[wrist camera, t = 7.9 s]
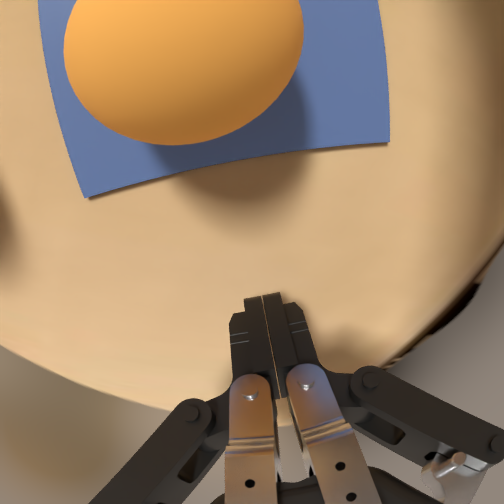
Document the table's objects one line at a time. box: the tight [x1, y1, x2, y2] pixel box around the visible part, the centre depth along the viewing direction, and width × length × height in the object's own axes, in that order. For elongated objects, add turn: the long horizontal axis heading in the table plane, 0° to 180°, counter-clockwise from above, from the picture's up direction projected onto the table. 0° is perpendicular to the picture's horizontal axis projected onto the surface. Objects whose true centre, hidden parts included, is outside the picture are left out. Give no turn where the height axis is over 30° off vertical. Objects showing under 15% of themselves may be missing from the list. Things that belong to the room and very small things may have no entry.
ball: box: [64, 0, 304, 145], centre depth 5 cm, size 6×6×6 cm
